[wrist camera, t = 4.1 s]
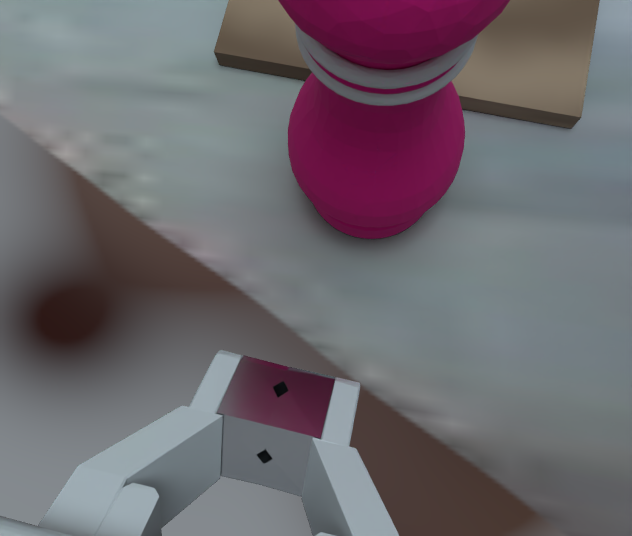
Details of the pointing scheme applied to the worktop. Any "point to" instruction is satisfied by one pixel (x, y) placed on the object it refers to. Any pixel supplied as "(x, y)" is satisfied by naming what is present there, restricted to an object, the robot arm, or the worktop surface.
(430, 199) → the pepper mill
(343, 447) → the robot arm
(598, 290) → the worktop surface
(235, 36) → the walnut board
